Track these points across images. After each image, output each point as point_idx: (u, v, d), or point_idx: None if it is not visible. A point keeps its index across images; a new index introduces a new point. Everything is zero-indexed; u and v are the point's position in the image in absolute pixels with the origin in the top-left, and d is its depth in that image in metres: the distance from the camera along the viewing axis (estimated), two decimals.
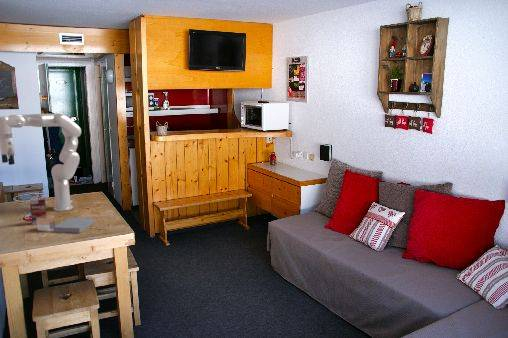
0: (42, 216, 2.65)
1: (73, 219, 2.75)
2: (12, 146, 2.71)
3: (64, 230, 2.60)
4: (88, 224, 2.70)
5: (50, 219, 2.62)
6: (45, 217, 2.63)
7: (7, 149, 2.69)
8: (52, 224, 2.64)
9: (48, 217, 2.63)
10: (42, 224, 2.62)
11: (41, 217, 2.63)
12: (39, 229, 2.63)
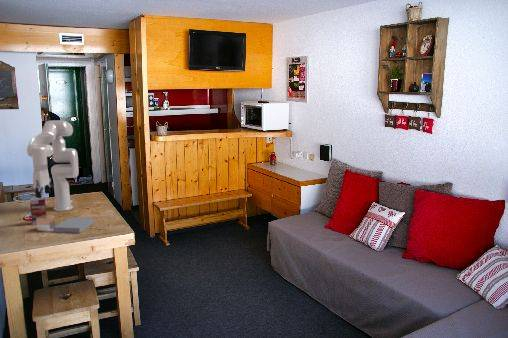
0: (42, 216, 2.65)
1: (73, 219, 2.75)
2: None
3: (64, 230, 2.60)
4: (88, 224, 2.70)
5: (50, 219, 2.62)
6: (45, 217, 2.63)
7: None
8: (52, 224, 2.64)
9: (48, 217, 2.63)
10: (42, 224, 2.62)
11: (41, 217, 2.63)
12: (39, 229, 2.63)
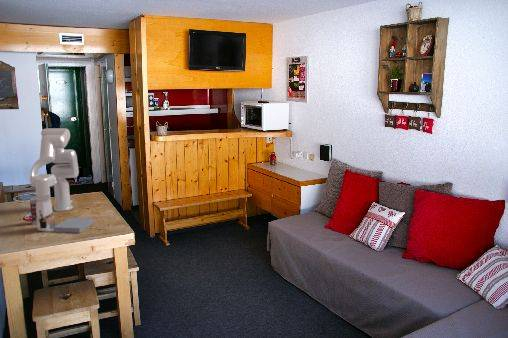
0: (42, 216, 2.65)
1: (73, 219, 2.75)
2: None
3: (64, 230, 2.60)
4: (88, 224, 2.70)
5: (50, 219, 2.62)
6: (45, 217, 2.63)
7: None
8: (52, 224, 2.64)
9: (48, 217, 2.63)
10: None
11: None
12: (39, 229, 2.63)
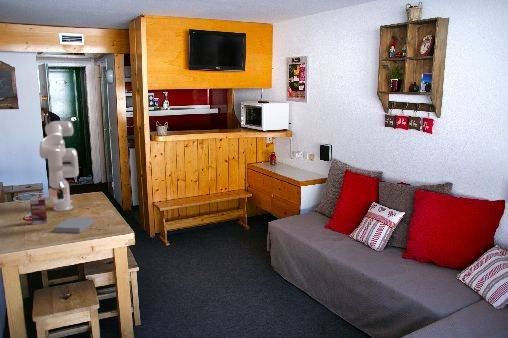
0: (51, 188, 2.61)
1: (73, 219, 2.75)
2: None
3: (64, 230, 2.60)
4: (88, 224, 2.70)
5: None
6: None
7: None
8: None
9: None
10: None
11: (55, 189, 2.60)
12: (56, 201, 2.60)
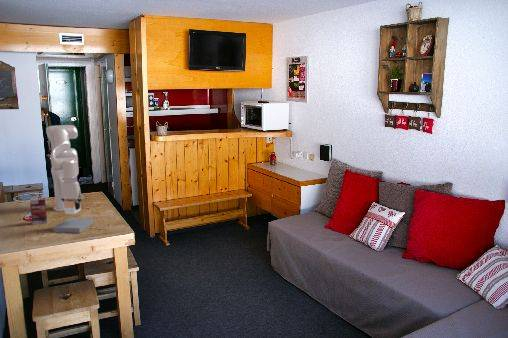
0: (67, 200, 2.62)
1: (73, 219, 2.75)
2: None
3: (64, 230, 2.60)
4: (88, 224, 2.70)
5: None
6: (73, 199, 2.65)
7: None
8: None
9: None
10: None
11: (72, 200, 2.63)
12: (75, 211, 2.64)
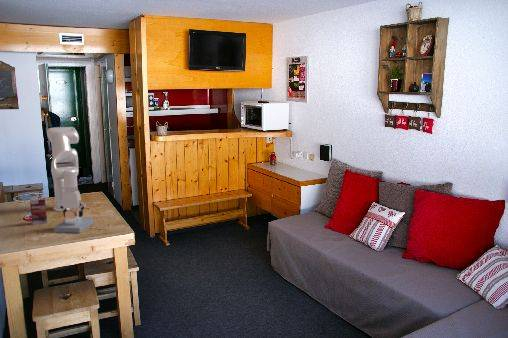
0: (68, 211, 2.64)
1: None
2: None
3: (64, 230, 2.60)
4: (88, 224, 2.70)
5: None
6: (74, 210, 2.67)
7: None
8: None
9: (74, 209, 2.69)
10: (77, 216, 2.67)
11: (73, 211, 2.65)
12: (76, 222, 2.65)
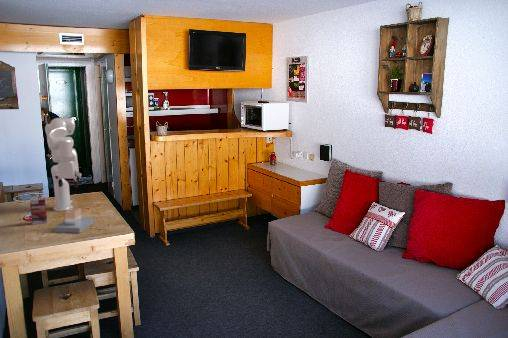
0: (68, 211, 2.64)
1: None
2: None
3: (64, 230, 2.60)
4: (88, 224, 2.70)
5: None
6: (74, 210, 2.67)
7: None
8: None
9: (74, 209, 2.69)
10: (77, 216, 2.67)
11: (73, 211, 2.65)
12: (76, 222, 2.65)
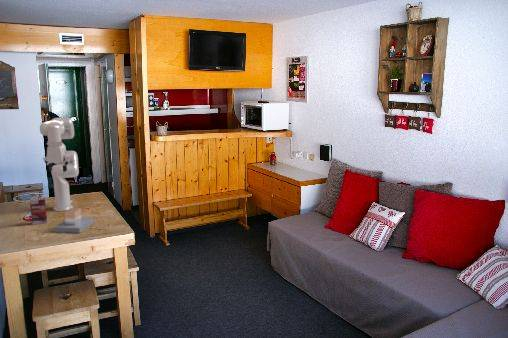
0: (68, 211, 2.64)
1: None
2: None
3: (64, 230, 2.60)
4: (88, 224, 2.70)
5: None
6: (74, 210, 2.67)
7: None
8: None
9: (74, 209, 2.69)
10: (77, 216, 2.67)
11: (73, 211, 2.65)
12: (76, 222, 2.65)
